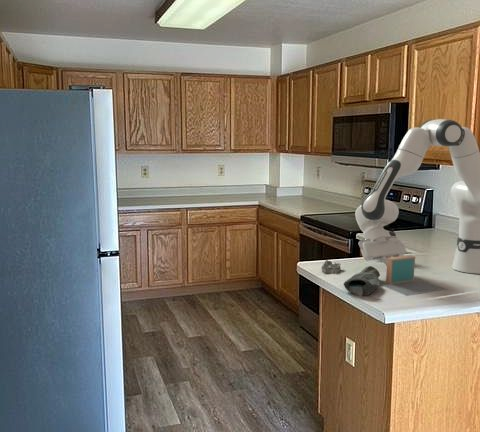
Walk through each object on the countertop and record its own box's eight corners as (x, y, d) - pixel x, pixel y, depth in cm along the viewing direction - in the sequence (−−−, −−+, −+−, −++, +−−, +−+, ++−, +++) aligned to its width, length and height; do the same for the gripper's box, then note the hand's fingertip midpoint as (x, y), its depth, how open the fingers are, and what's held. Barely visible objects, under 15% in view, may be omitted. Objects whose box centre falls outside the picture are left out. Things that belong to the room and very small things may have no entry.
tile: (409, 279, 207) (410, 255, 205) (414, 280, 204) (415, 256, 202) (385, 282, 202) (387, 257, 200) (390, 284, 199) (391, 259, 198)
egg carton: (326, 267, 227) (326, 258, 226) (342, 269, 223) (342, 260, 223) (319, 273, 217) (319, 264, 217) (336, 275, 214) (336, 266, 214)
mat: (413, 278, 210) (413, 276, 210) (447, 290, 194) (447, 289, 194) (374, 283, 202) (374, 282, 202) (406, 297, 186) (406, 295, 185)
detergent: (373, 299, 183) (391, 280, 204) (372, 279, 182) (390, 263, 203) (338, 295, 190) (359, 278, 211) (337, 277, 189) (358, 261, 210)
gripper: (360, 236, 208) (374, 265, 200) (399, 232, 216) (414, 260, 209) (353, 244, 212) (367, 273, 205) (391, 240, 221) (406, 268, 214)
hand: (391, 266), depth 207 cm, fingers closed
